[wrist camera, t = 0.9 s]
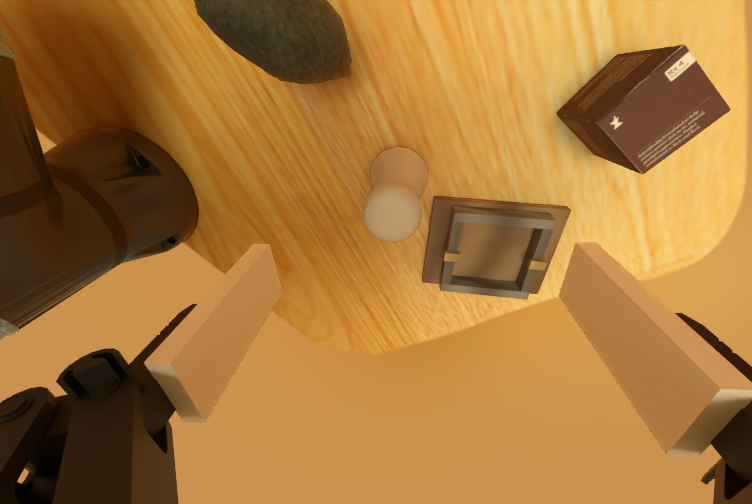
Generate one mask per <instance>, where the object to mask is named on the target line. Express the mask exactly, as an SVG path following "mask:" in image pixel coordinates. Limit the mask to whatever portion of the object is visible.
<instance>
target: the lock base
mask: <svg viewBox="0 0 752 504" xmlns="http://www.w3.org/2000/svg"><path fill="white" fill-rule="evenodd" d="M570 212H571V210H570V209H569V208H568V207H566V206H554V205H541V204H528V203H515V202H503V201H490V200H477V199H465V198H452V197H439V196H434V201H433V208H432V215H431V221H430V228H429V235H428V242H427V249H426V256H425V263H424V270H423V276H422V282H425V283H434V284H439V285H440V291H450V292H459V293H469V294H479V295H488V296H498V297H507V298H517V299H527V298H528V296H529V293H532V294H538V292H539V289H540V287H541V284H542V282H543V279H544V277H545V274H546V272H547V269H548V267H549V264H550V262H551V259H552V257H553V254H554V252H555V249H556V247H557V244H558V242H559V239H560V237H561V234H562V232H563V229H564V227H565V224H566V222H567V219H568V217H569V214H570Z"/></svg>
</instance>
